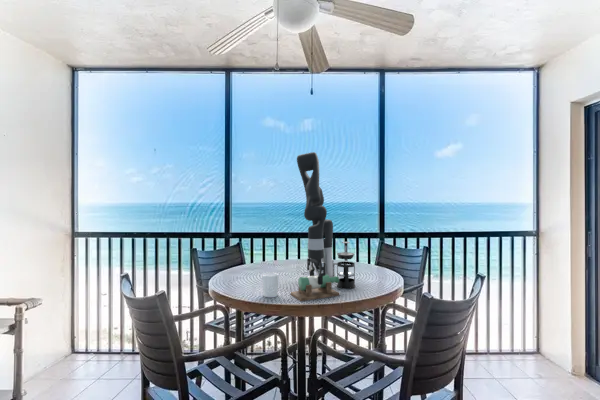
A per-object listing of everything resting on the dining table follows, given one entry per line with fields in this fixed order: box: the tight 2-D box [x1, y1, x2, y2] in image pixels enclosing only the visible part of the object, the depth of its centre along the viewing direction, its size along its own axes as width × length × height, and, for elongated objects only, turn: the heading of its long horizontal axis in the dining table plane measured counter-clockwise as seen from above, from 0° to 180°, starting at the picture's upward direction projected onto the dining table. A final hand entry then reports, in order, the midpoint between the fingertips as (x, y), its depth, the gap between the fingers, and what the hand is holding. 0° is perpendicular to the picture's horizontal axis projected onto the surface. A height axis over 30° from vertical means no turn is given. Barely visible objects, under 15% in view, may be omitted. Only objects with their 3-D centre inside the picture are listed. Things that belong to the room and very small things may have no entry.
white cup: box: [261, 271, 280, 298], centre depth 155 cm, size 8×8×10 cm
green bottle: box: [297, 274, 340, 291], centre depth 156 cm, size 20×6×6 cm, turn 115°
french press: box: [333, 241, 356, 290], centre depth 170 cm, size 12×9×23 cm
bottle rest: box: [290, 282, 340, 302], centre depth 155 cm, size 20×11×6 cm, turn 114°
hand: (316, 282), depth 155 cm, fingers open, 8 cm apart
